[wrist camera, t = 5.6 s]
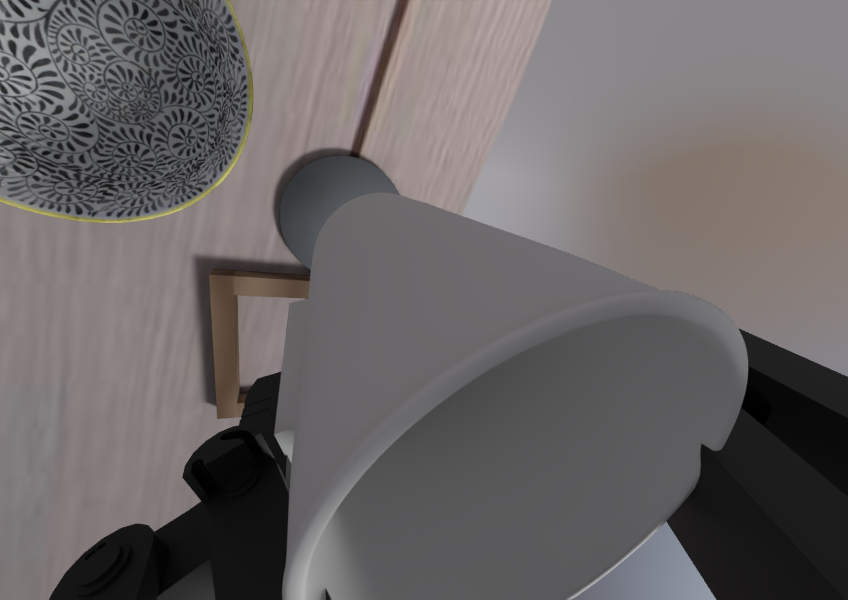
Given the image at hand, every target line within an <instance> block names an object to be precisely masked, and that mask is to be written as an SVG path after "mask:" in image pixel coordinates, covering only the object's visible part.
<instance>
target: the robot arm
mask: <svg viewBox="0 0 848 600" xmlns="http://www.w3.org/2000/svg"><path fill="white" fill-rule="evenodd" d="M307 306H308V299H305V300H301V301H297V302H293V303H290V304H289V312H288V321H287V329H286V338H285V346H284V355H283V363H282V372H278V373H275V374H272V375H268V376H265V377H262V378H258V379H257V380H256V381H255V383H254V384H253V385H252V387H251V388H250V389H249V391H248V392H247V395H246V399H245V403H244V408H243V411H242V415H241V418H242V419H241V420H240V423H239V426H233V427H231V428H228V429H226V430H224V431H221V432H219V433H217V434H216V435H214V436H213V437H211V438H210V439H208V440H207V441H205V442H204V443H203V444H202V445H201V446H200V447H199V448H198V449H197V450H196V451H195V452H194V453H193V454H192V456H191V457H190V459H189V460H188V462H187V464H186V465H185V468H184V473H183V479H184V480H185V481H186V482H187V484H188V485H189V486H190V487H191V489H192V490H193V491H194V492H195V494H196V495H197V496H198V497H199V499H200V500H201V502H200V503H198V504H197V505H196V506H194V507H193V508H191V509H190V510H188V511H187V512H185V513H184V514H182V515H181V516H179V517H177V518H176V519H174V520H173V521H171V522H169V523H168V524H166V525H165V526H163V527H162V528H160V529H158V530H157V531H155V532H154V531H153V530H152V529H151V528H150V527H149V526H148V525H144V524H133V525H130V526H127V527H123V528H120V529H119V530H117V531H115V532H113V533H112V534H110V535H108V536H106V537H104V538H103V539H101V540H100V541H99V542H98V543H96V544H95V545H94V546H93V547H91V548H90V549H89V550H88V551H86V552H85V553H84V554H83V555H82V556H81V557H80V558H79V559H78V560H77V561H76V562H75V563H74V564H73V565H72V566H71V568H70V569H69V570H68V571H67V572H66V573H65V574H64V576H63V577H62V579H61V581H60V582H59V584H58V585H57V587H56V588H55V590H54V591H53V593H52V595H51V597H50V599H49V600H282V586H283V577H284V571H285V566H286V554H287V535H288V511H289V492H290V477H291V464H292V453H293V442H294V431H295V421H296V411H297V401H298V391H299V382H300V373H301V363H302V354H303V345H304V335H305V326H306V316H307ZM739 331H740V333H741V335H742V337H743V340H744V342H745V346H746V350H747V356H748V379H747V386H746V391H745V395H744V399H743V402H742V406H741V409H740V412H739V414H738V417H737V419H736V422H735V424H734V426H733V428H732V430H731V433H730V435H729V437H728V439H727V440H726V442H725V444H724V446H723V448H722V449H721V450H719V451H714V450H711V449H710V448H708V447H707V446H705V445H703V444H702V443H701V449H700V462H701V467H700V476H699V479H698V482H697V485H696V487H695V488H694V490H693V491H692V493H691V494H690V495H689V496H688V498H687V499H686V500H685V501H684V502H683V503H682V505H681V506H680V507H679V508H678V509H677V510H676V511H675V512H674V514H673V515H672V516H671V517H670V518H669V519H668V520H667V523H668V525H669V526H670V528H671V529H672V531H673V532H674V534H675V535H676V537H677V539H678V540H679V541H680V543H681V545H682V546H683V548H684V550H685V551H686V553H687V554H688V556H689V557H690V559H691V561H692V562H693V564H694V565H695V567H696V568H697V570H698V571H699V573H700V575H701V576H702V578H703V579H704V581H705V582H706V584H707V586H708V587H709V589H710V590H711V592H712V593H713V595H714V596H715V598H716V600H848V377H847V376H845V375H842V374H840V373H838V372H836V371H833V370H831V369H829V368H827V367H824V366H822V365H820V364H818V363H815V362H813V361H811V360H808V359H806V358H804V357H802V356H799V355H797V354H795V353H793V352H790V351H788V350H786V349H784V348H781V347H779V346H777V345H775V344H772V343H770V342H768V341H766V340H763V339H761V338H759V337H756V336H754V335H752V334H750V333H748V332H745V331H743V330H741V329H739ZM326 600H332V599H331V597H330V595H329V593H328V591H327V589H326Z"/></svg>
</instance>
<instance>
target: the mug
mask: <svg viewBox="0 0 848 600" xmlns="http://www.w3.org/2000/svg"><path fill="white" fill-rule="evenodd" d="M747 379H748V356H747V350H746V346H745V342H744V340H743V337H742V335H741V333H740V331H739V329H738V327H737V326H736V324H735V323H734V322H733V320H732V319H731V318H730V317H729V316H728V315H727V314H726V313H725V312H724V311H723V310H722V309H720V308H719V307H717V306H716V305H714V304H713V303H711V302H709V301H707V300H704V299H702V298H700V297H697V296H694V295H690V294H687V293H683V292H678V291H669V290H659V289H657V288H654V287H651V286H649V285H646V284H644V283H641V282H638V281H636V280H634V279H631V278H629V277H626V276H624V275H622V274H619V273H617V272H615V271H612V270H610V269H607V268H605V267H603V266H600V265H598V264H595V263H593V262H590V261H588V260H586V259H583V258H580V257H578V256H575V255H572V254H569V253H567V252H564V251H561V250H558V249H556V248H553V247H550V246H547V245H544V244H541V243H538V242H535V241H532V240H530V239H527V238H524V237H521V236H518V235H515V234H512V233H509V232H506V231H504V230H501V229H498V228H495V227H492V226H489V225H486V224H483V223H480V222H477V221H475V220H472V219H469V218H466V217H463V216H460V215H457V214H455V213H452V212H449V211H446V210H443V209H441V208H438V207H435V206H432V205H430V204H427V203H424V202H420V201H417V200H413V199H410V198H407V197H404V196H401V195H397V194H392V193H372V194H367V195H363V196H360V197H357V198H354V199H352V200H350V201H348V202H347V203H345V204H343V205H342V206H341V207H339V208H338V209H337V210H336V211H335V212H334V213H333V214H332V215H331V216H330V217H329V218H328V219H327V221H326V222H325V223H324V225H323V227H322V228H321V230H320V232H319V235H318V237H317V240H316V243H315V247H314V253H313V258H312V265H311V274H310V286H309V297H308V306H307V316H306V326H305V335H304V345H303V354H302V363H301V373H300V382H299V391H298V401H297V411H296V421H295V431H294V442H293V453H292V464H291V477H290V492H289V511H288V535H287V554H286V566H285V571H284V577H283V586H282V600H326V589H327V591H328V593H329V595H330V597H331V599H332V600H571V599H573V598H574V597H576V596H577V595H579V594H580V593H582V592H583V591H585V590H586V589H588V588H589V587H590V586H592V585H593V584H594V583H596V582H597V581H599V580H600V579H601V578H603V577H604V576H605V575H607V574H608V573H609V572H610V571H611V570H613V569H614V568H615V567H617V566H618V565H619V564H620V563H621V562H623V561H624V560H625V559H626V558H628V557H629V556H630V555H631V554H632V553H633V552H634V551H636V550H637V549H638V548H639V547H640V546H641V545H642V544H643V543H645V542H646V541H647V540H648V539H649V538H650V537H651V536H652V535H653V534H654V533H655V532H656V531H657V530H658V529H659V528H660V527H661V526H662V525H663V524H664V523H665V522H666V521H667V520H668V519H669V518H670V517H671V516H672V515H673V514H674V512H675V511H676V510H677V509H678V508H679V507H680V506H681V505H682V503H683V502H684V501H685V500H686V499H687V498H688V496H689V495H690V494H691V493H692V491H693V490H694V488H695V487H696V485H697V482H698V479H699V476H700V467H701V462H700V449H701V443H702V444H703V445H705V446H707V447H708V448H710V449H711V450H714V451H719V450H721V449H722V448H723V446H724V444H725V442H726V440H727V439H728V437H729V435H730V433H731V430H732V428H733V426H734V424H735V422H736V419H737V417H738V414H739V412H740V409H741V406H742V402H743V399H744V395H745V391H746V386H747Z"/></svg>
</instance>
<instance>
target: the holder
mask: <svg viewBox="0 0 848 600" xmlns="http://www.w3.org/2000/svg"><path fill="white" fill-rule="evenodd" d="M309 286H310V276H306V275H292V274H279V273H265V272H251V271H237V270H223V269H213V270H212V271H211V272H210V274H209V287H210V304H211V321H212V337H213V354H214V371H215V388H216V404H217V419H221V418H233V417H241V415H242V411H243V408H244V403H245V399H246V395H247V393H240V383H239V343H238V303H237V295H244V296H266V297H288V298H308V297H309Z"/></svg>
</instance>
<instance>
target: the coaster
mask: <svg viewBox="0 0 848 600" xmlns="http://www.w3.org/2000/svg"><path fill="white" fill-rule="evenodd" d="M372 193H392V194H397V195H400V194H399V192H398V191H397V189H396V187H395V185H394V184H393V183H392V181H391V180H390V179H389V178H388V177H387V176H386V175H385V174H384V173H383V172H382V171H381V170H380V169H378V168H377V167H375V166H374V165H372V164H371V163H368V162H366V161H364V160H362V159H358V158H355V157H350V156H329V157H324V158H321V159H318V160H315V161H313V162H311V163H309V164H308V165H306V166H304V167H303V168H302V169H301V170H300V171H298V172H297V173H296V174H295V176H294V177H293V178H292V179H291V181H290V182H289V184H288V185H287V187H286V189H285V192H284V194H283V197H282V201H281V205H280V224H281V230H282V233H283V236H284V239H285V241H286V243H287V245H288V247H289V249H290V250H291V252H292V253H293V255H294V256H295V257H296V258H297V259H298V260H299V261H300V262H301V263H302V264H303V265H304V266H306V267H307V268H308V269H310V270H311V265H312V258H313V253H314V247H315V243H316V240H317V237H318V235H319V232H320V230H321V228H322V227H323V225H324V223H325V222H326V221H327V219H328V218H329V217H330V216H331V215H332V214H333V213H334V212H335V211H336V210H337V209H338V208H339V207H341V206H342V205H343V204H345V203H347V202H348V201H350V200H352V199H354V198H357V197H360V196H363V195H367V194H372Z"/></svg>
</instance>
